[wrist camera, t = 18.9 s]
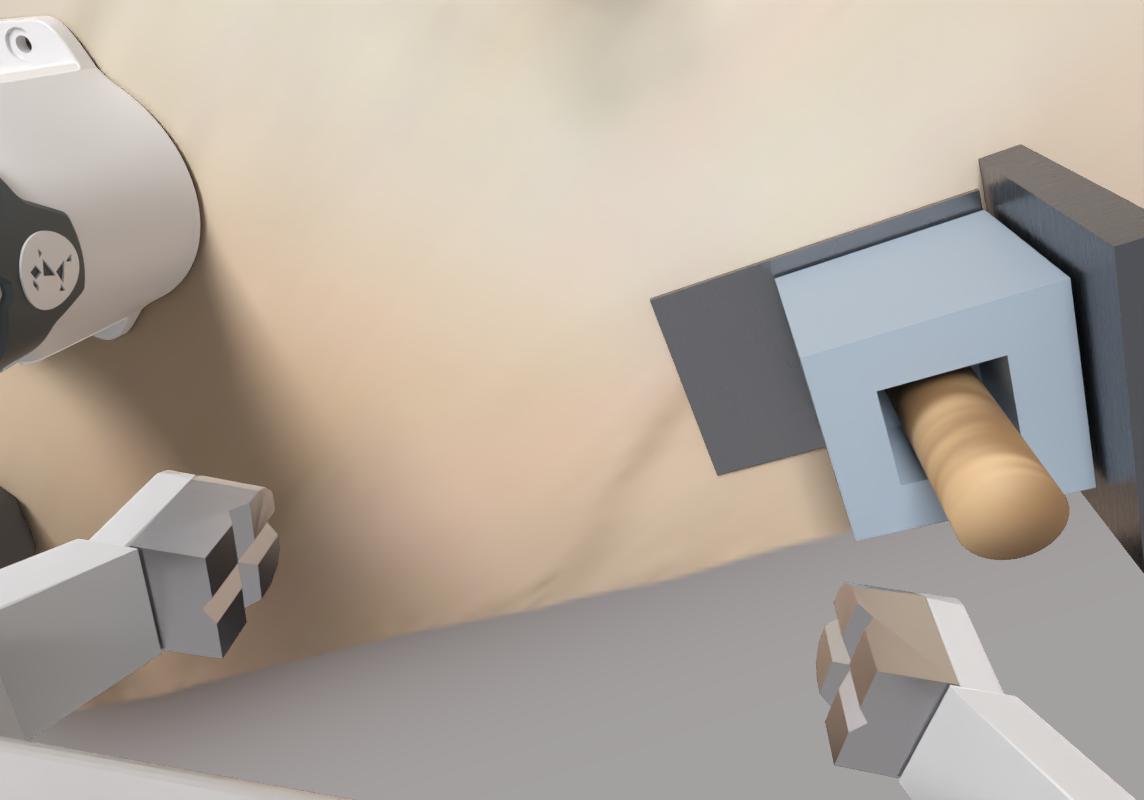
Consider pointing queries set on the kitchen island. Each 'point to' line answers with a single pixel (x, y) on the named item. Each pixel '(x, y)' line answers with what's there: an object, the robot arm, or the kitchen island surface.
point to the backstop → (1013, 196)
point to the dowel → (980, 466)
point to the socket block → (936, 357)
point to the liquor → (13, 532)
